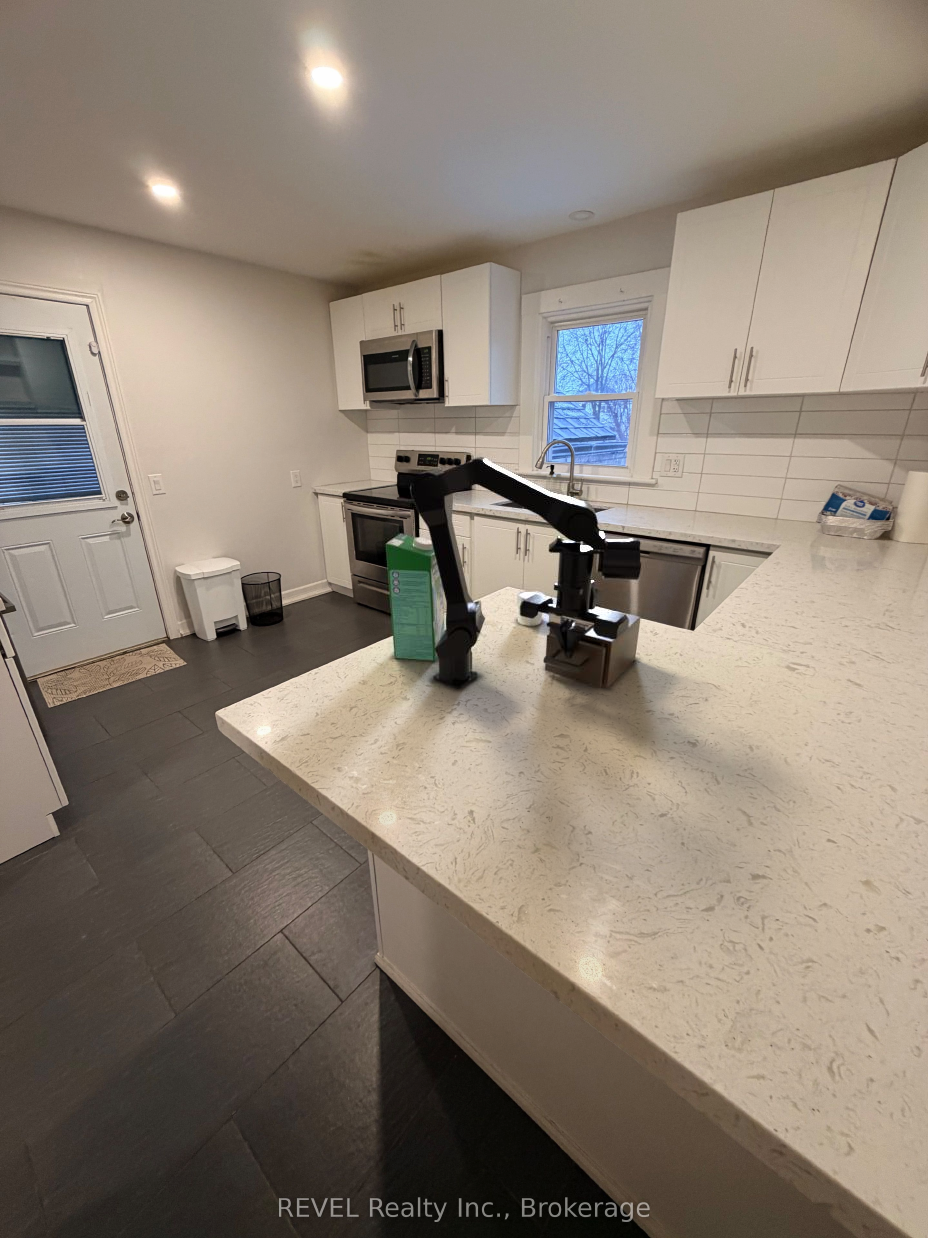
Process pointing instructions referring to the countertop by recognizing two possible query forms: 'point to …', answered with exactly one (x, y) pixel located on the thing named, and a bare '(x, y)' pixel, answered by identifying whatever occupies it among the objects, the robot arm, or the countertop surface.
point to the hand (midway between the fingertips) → (568, 658)
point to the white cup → (520, 598)
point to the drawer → (577, 660)
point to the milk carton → (414, 597)
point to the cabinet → (617, 647)
